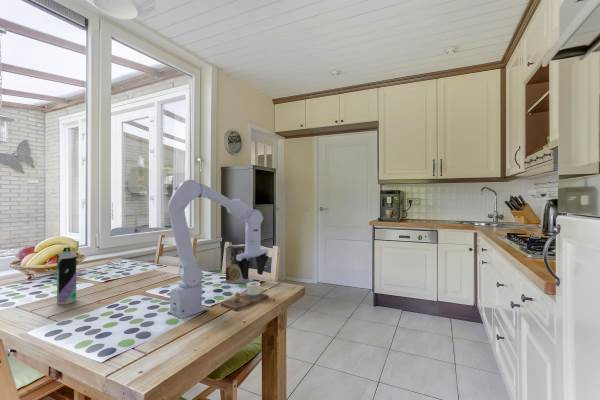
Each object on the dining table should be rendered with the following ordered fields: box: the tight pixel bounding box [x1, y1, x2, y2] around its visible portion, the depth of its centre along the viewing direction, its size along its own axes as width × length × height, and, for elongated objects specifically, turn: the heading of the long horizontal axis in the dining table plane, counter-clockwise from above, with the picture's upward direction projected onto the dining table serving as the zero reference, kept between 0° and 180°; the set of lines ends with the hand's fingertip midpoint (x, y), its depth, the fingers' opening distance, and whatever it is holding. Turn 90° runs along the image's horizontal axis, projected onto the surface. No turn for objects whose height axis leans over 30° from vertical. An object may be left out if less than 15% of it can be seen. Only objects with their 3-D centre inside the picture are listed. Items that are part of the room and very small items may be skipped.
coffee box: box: [225, 245, 249, 284], centre depth 128 cm, size 9×6×16 cm
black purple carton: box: [56, 246, 77, 305], centre depth 102 cm, size 6×6×20 cm
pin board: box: [220, 292, 270, 312], centre depth 102 cm, size 16×8×4 cm, turn 143°
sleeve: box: [246, 281, 261, 298], centre depth 106 cm, size 5×5×4 cm
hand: (252, 276), depth 106 cm, fingers open, 7 cm apart
